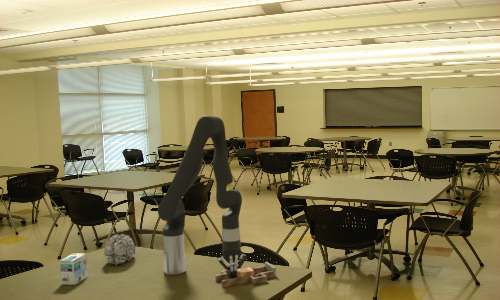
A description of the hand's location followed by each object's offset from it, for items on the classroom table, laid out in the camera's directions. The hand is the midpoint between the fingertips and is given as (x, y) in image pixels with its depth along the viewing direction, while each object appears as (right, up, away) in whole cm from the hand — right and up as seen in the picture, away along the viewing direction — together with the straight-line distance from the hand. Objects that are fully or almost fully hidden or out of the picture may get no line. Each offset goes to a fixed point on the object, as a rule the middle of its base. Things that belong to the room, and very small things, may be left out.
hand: (233, 279), depth 194 cm
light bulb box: (-70, -4, +11) cm, 71 cm away
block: (+5, -1, +2) cm, 5 cm away
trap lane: (+5, -1, +3) cm, 6 cm away
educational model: (-57, -1, +35) cm, 66 cm away
